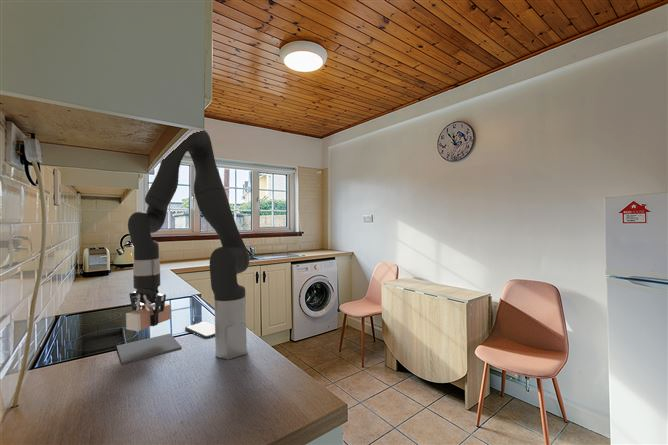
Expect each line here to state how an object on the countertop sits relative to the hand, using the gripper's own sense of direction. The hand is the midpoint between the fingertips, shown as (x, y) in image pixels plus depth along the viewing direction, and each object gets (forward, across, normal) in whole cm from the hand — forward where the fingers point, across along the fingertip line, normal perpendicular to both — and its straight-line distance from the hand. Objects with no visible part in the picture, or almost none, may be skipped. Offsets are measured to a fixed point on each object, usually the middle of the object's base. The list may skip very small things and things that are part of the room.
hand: (148, 324), depth 101 cm
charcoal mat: (+8, 0, 0) cm, 8 cm away
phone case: (+8, +7, +18) cm, 21 cm away
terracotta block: (-3, 0, +7) cm, 7 cm away
